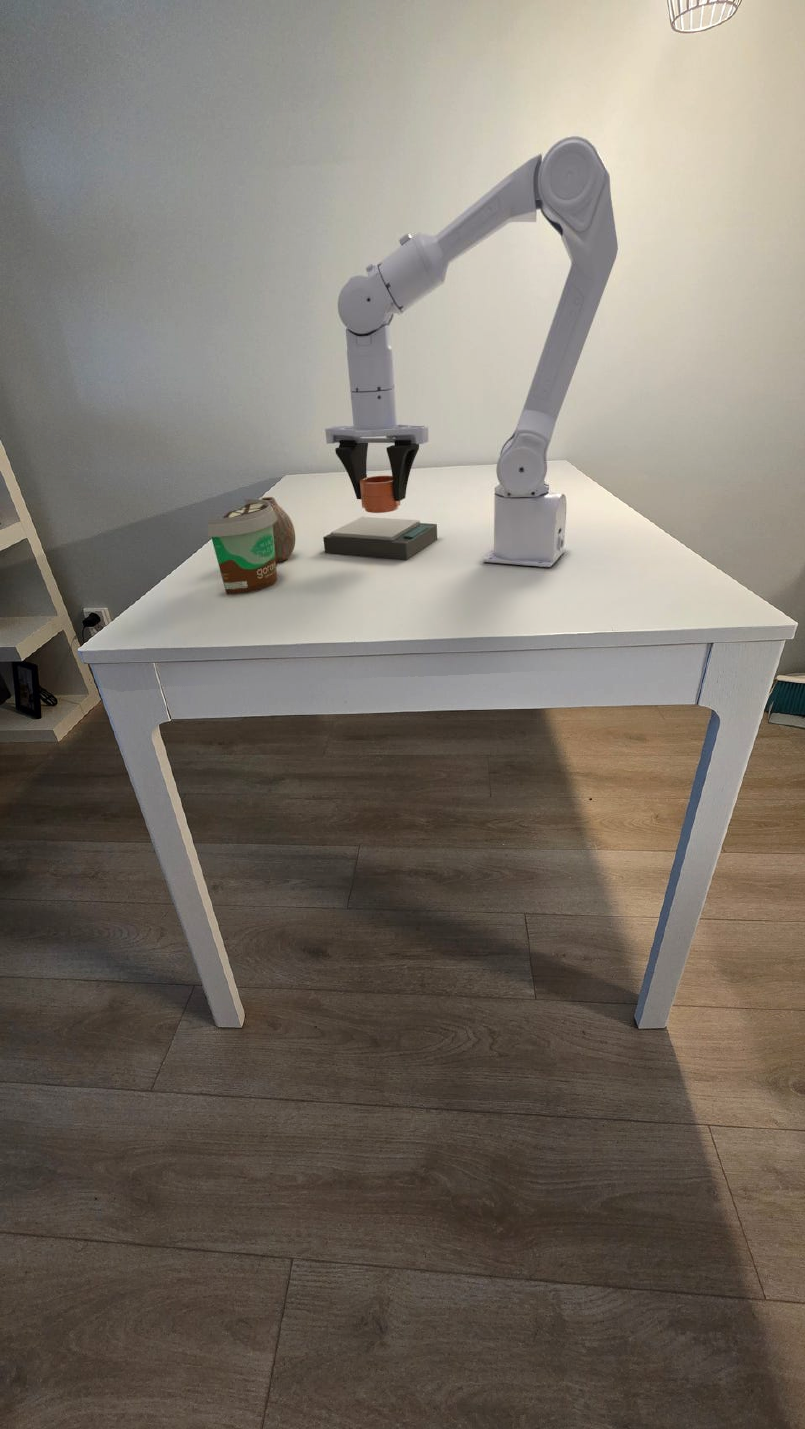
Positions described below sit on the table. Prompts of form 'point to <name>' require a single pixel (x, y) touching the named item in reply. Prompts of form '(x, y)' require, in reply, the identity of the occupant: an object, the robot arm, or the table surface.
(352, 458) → the robot arm
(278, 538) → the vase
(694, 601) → the table surface
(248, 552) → the food container
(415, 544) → the scale
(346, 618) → the table surface
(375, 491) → the terracotta cup
